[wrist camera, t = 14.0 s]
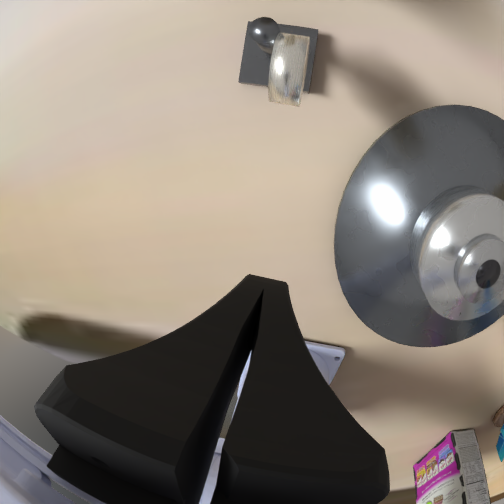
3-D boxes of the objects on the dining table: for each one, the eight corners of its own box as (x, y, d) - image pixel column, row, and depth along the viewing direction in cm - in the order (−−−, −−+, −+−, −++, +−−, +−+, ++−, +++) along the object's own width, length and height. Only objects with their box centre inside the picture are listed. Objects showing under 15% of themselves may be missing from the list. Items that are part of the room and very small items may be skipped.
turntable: (569, 261, 14) (589, 280, 11) (390, 372, 22) (395, 403, 19) (520, 56, 9) (549, 53, 6) (278, 193, 18) (270, 211, 15)
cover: (513, 260, 15) (540, 289, 12) (430, 312, 19) (447, 350, 15) (486, 163, 13) (522, 178, 10) (389, 224, 17) (407, 254, 13)
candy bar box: (436, 462, 31) (443, 546, 16) (412, 465, 31) (414, 554, 17) (476, 426, 25) (495, 525, 11) (451, 429, 26) (465, 536, 12)
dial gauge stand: (305, 110, 16) (302, 106, 10) (239, 100, 16) (198, 93, 10) (317, 33, 13) (320, -11, 7) (250, 25, 14) (217, -18, 8)
